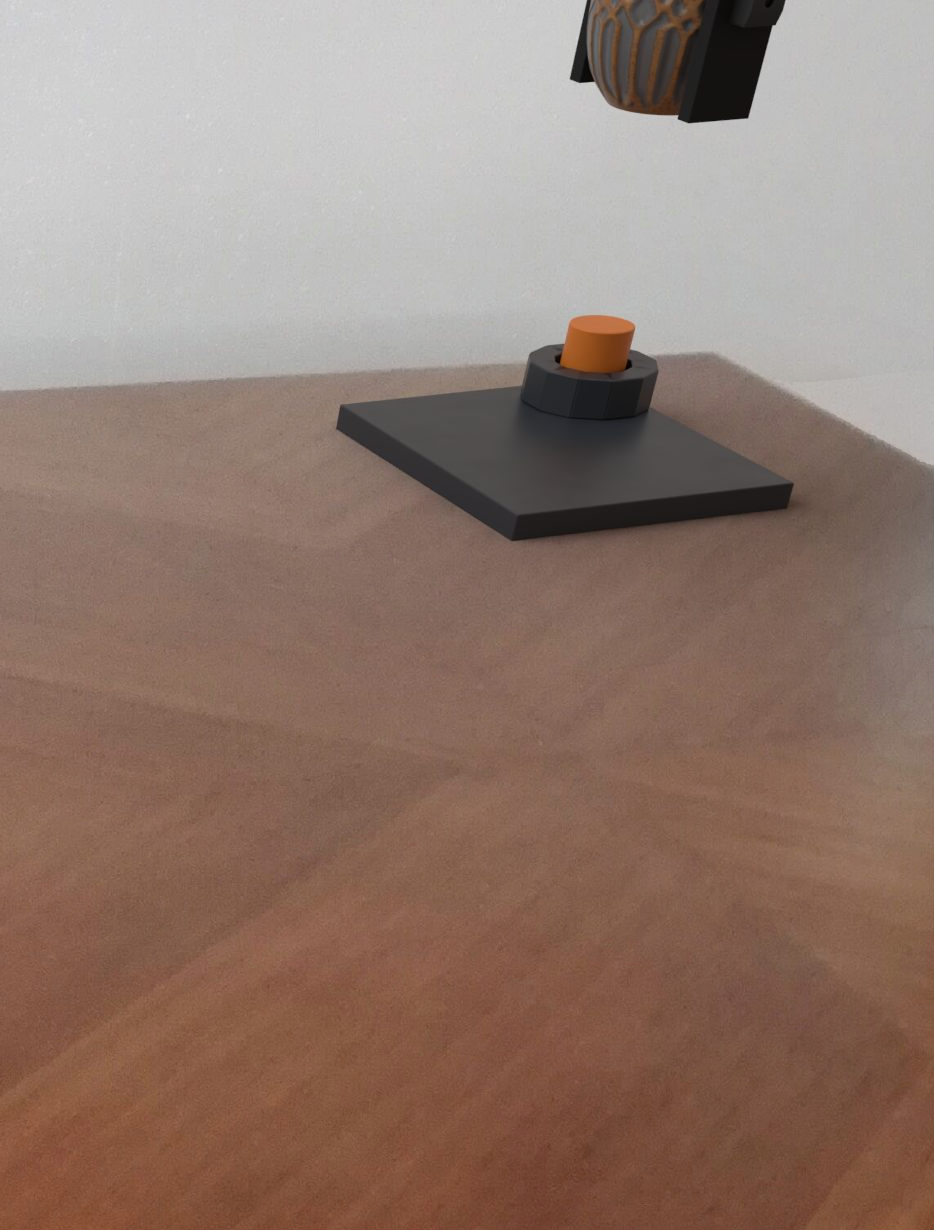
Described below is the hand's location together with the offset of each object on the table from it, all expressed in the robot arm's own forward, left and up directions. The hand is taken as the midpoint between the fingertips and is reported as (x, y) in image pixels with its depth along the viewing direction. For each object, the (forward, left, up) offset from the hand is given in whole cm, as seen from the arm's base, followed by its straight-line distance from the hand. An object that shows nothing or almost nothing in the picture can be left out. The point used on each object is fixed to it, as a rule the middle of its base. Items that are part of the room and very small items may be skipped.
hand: (656, 97), depth 100 cm
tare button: (+11, -8, -14) cm, 19 cm away
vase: (0, 0, -1) cm, 1 cm away
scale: (+6, -3, -17) cm, 18 cm away
